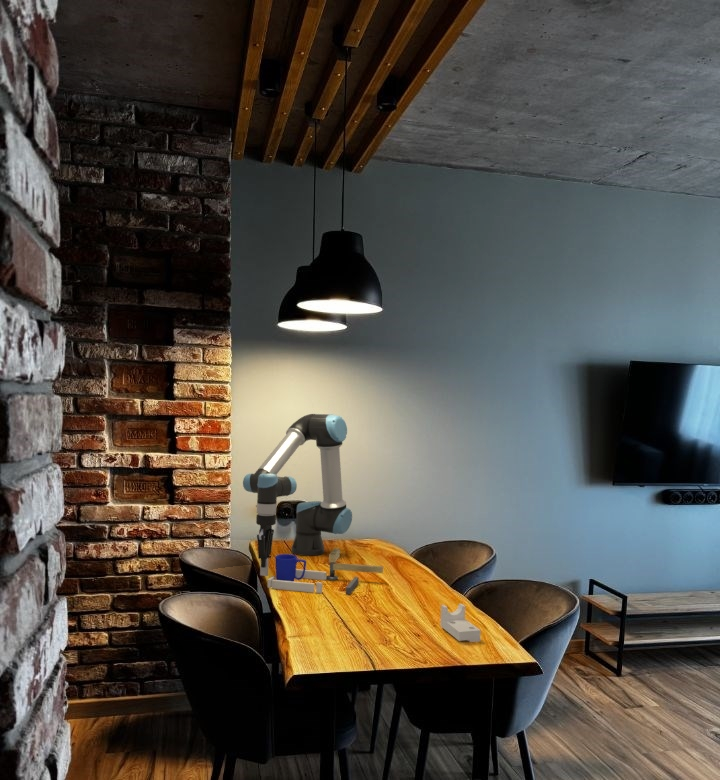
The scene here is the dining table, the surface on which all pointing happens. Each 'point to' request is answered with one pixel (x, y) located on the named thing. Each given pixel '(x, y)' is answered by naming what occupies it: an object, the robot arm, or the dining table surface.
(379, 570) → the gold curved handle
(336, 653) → the dining table surface
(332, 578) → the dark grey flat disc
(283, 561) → the mug
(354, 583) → the kerb
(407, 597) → the dining table surface
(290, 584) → the beige rectangular bars
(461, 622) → the bracket
